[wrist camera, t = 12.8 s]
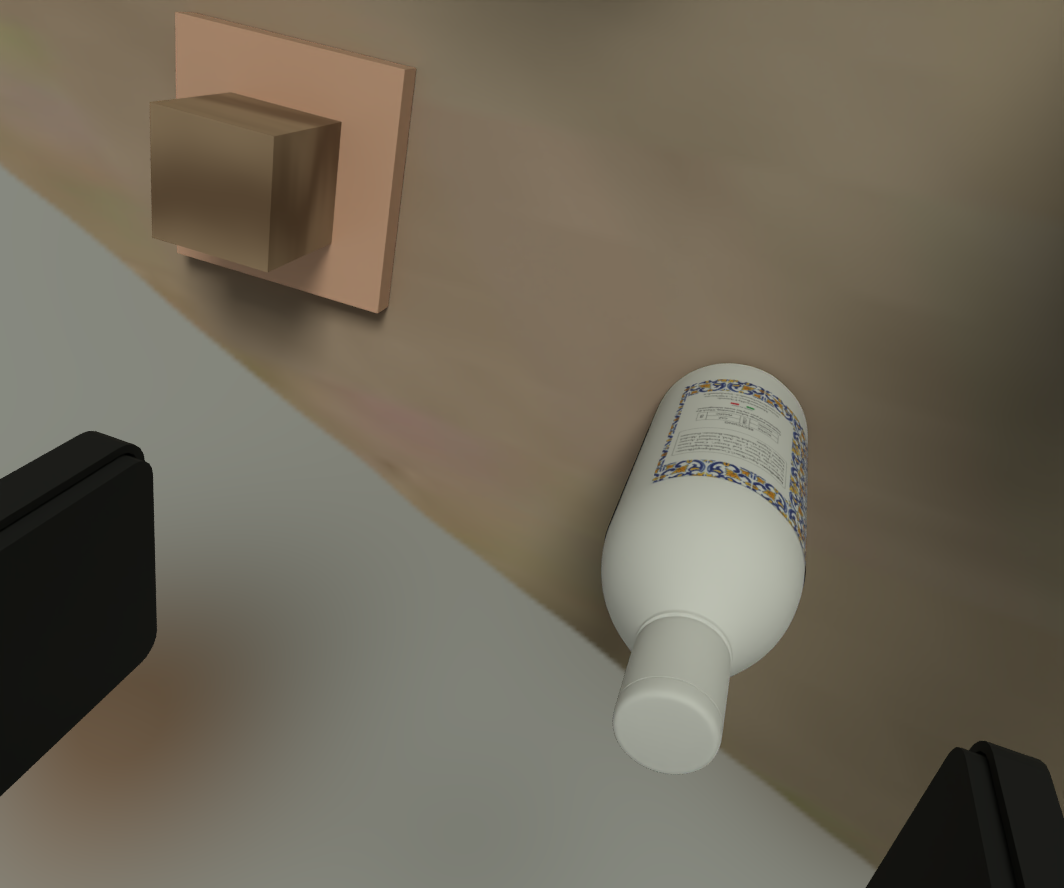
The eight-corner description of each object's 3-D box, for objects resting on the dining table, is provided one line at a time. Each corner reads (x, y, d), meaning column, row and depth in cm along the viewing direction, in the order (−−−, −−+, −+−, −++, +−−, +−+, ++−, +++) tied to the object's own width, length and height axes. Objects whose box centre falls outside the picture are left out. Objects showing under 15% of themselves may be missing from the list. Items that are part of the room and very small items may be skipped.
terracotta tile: (192, 12, 39) (175, 11, 38) (416, 68, 37) (404, 69, 36) (192, 247, 44) (177, 252, 43) (388, 306, 43) (377, 313, 42)
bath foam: (728, 521, 42) (666, 866, 25) (625, 424, 42) (490, 710, 24) (841, 435, 39) (861, 766, 22) (731, 328, 38) (661, 582, 21)
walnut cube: (231, 92, 39) (149, 102, 34) (341, 121, 38) (274, 136, 33) (228, 212, 42) (152, 237, 37) (331, 243, 41) (267, 272, 36)
